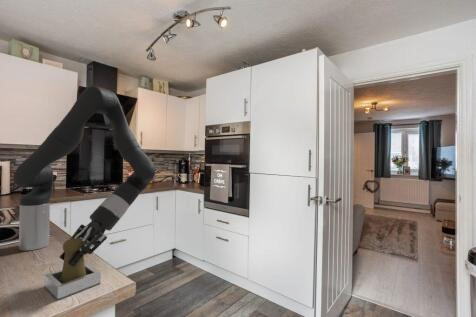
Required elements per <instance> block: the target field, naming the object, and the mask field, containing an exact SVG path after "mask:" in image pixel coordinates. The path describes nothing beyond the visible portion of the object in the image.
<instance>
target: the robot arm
mask: <svg viewBox="0 0 476 317" xmlns="http://www.w3.org/2000/svg"><path fill="white" fill-rule="evenodd" d="M94 114H102V115H104V116H105V117H106V118H107V120H108V121H109V122H110V124H111V126H112V131H113V141H114V144H115V147H116V149H117V150H118V152H119V154H120V155H121V157H122V159H123V160H124V162H126V163H128V165H129V166H130V167H131V169H132V171H133V172H132V173H131V175H130V176H129V177H128V178H127V179H126V180H125V181H124V182H122V183H120V184H119V185H118V186H117V187H116V188H115V189H114V191H113V192H112V193H111V194H110V195H109V196H107V197H106V198H105V199H103V201H102V202H101V204H99V205H98V206H97V208H96V209H95V210H93V212H92V213H91V214H90V215H89V219H90V220H91V221H90V222H89V223H88V224H87V225H84V224H83V223H82V224H80V225H79V226H78V228H77V229H76V231H75V232H74V233H73V234H72V236H71V237H70V238H69V239H73V238H81V239H83V240H82V245H81V246H80V248H79V249H78V251H76V252H75V253H74V255H73V256H72V257H71V258H70V259H69V260H68V261H67V264H69V265H71V266H72V267H74V266H75V265H76V264H77V263H78V262H79V260H80V259H81V258H82V257H83V256H86V255H91V254H92V253H94V252H95V251H96V250H97V249H98V248H99V247H100V246H101V245H102V244H103V243H104V242H105V241H106V240H107V238H108V236H107V235H106V234H105V232H106V231H112V229H113V228H114V227H115V226H116V225H117V223H118V222H119V221H120V220H121V218H122V217H123V216H124V215H125V214H126V212H127V211H128V210H129V208H130V206H132V204H133V203H134V202H135V201H136V199H137V197H139V195H140V194H141V193H142V192H143V191H145V190H144V189H146V187H148V185H149V184H150V183H151V182H152V181H153V179H154V178H155V176H156V167H155V165H154V164H153V161H152V160H151V159H150V158H149V156H148V155H147V154H146V153H145V152H144V151H143V149H142V147H141V146H140V144H139V142H138V140H137V139H136V137H135V135H134V133H133V132H132V130H131V127H130V126H129V124H128V120H127V118H126V115H125V113H124V110H123V108H122V105H121V103H120V100H119V98H118V96H117V95H116V94H115V92H113V91H112V90H109V89H106V88H103V87H100V86H99V85H98V86H97V85H90V86H88V87H86V88H84V90H83V91H82V92H81V93H80V95H79V96H78V97H77V99H76V101H75V103H73V105H72V107H71V108H70V110H69V111H68V112H67V114H66V115H65V116H64V117H63V119H62V120H61V121H60V122H59V123H58V125H56V126H55V128H54V129H52V131H51V132H50V134H48V136H47V137H46V138H45V140H43V142H42V143H41V144H40V145H39V146H38V147H37V148H36V149H35V150H34V151H33V153H31V154H30V155H29V156H28V157H27V158H26V159H25V160H24V161H23V162H21V163H20V164H19V165H18V166H17V167H16V169H15V171H14V172H13V177H12V178H13V183H14V184H15V185H16V186H17V187H19V188H32V190H31V191H30V192H29V193H27V194H24V195H23V196H21V197H20V199H19V220H18V221H19V229H18V235H19V236H18V249H19V251H23V252H24V251H27V252H28V251H35V250H39V249H42V248H45V247H47V246H49V245H50V225H51V224H50V222H51V220H50V218H51V216H50V214H51V212H50V211H51V208H50V206H51V198H52V195H53V189H54V170H53V168H52V166H51V165H52V163H54V162H57V161H58V160H61V159H62V158H64V157H66V156H68V155H69V154H71V153H72V152H74V150H75V149H76V148H77V147H78V146H79V144H81V142H82V140H83V137H84V131H85V129H84V128H85V124H86V123H87V122H88V121H89V119H91V117H92V116H94ZM64 257H65V252H64V251H63V252H62V253H61V254H60V255H59V259H61V260H62V261H64Z"/></svg>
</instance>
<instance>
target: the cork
mask: <svg viewBox="0 0 476 317" xmlns="http://www.w3.org/2000/svg"><path fill="white" fill-rule="evenodd" d="M82 240H83V239H81V238H76V237H75V238H73V239H70V238H69V239H67V240H65V241H64V243H63V244H62V250H63V252H65V257H64V260H63V265H62V269H61V270H62V275H61V282H62V283H66V282H69V281H72V280H74V279H77V278H80V277H83V276H86V270H85V257H84V256H85V255H84V256H83V257H82V258H81V259H80V260H79V262H78V263H77V264H76V265H75V266H74V267H72V266H71V265H69V264H67V261H68V260H69V259H70V258H71V257H72V256H73V255H74V253H75V252H76V251H78V249H79V248H80V246H81V245H82Z"/></svg>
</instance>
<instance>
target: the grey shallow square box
mask: <svg viewBox="0 0 476 317" xmlns="http://www.w3.org/2000/svg"><path fill="white" fill-rule="evenodd" d="M84 263H85V270H86V276H83V277H80V278H77V279H74V280H72V281H69V282H66V283H62V282H61V275H62V269H60V270H56V271H53V272H48V273H47V274H44V275H43V276H44V279H43V280H44V283H43V287H44V289H46V290H47V292H49V293H50V295H51V296H52V297H53V298H55V300H56V301H57V302H58V301H60V300H63V299H66V298H69V297H70V296H73V295H75V294H78V293H81V292H83V291H86V290H88V289H91V288H93V287H96V286H99V285H101V280H102V279H101V275H102V272H101V271H100V270H98V269H97V268H95V267H94V266H92V265H90V264H88V263H87V262H85V261H84Z"/></svg>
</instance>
